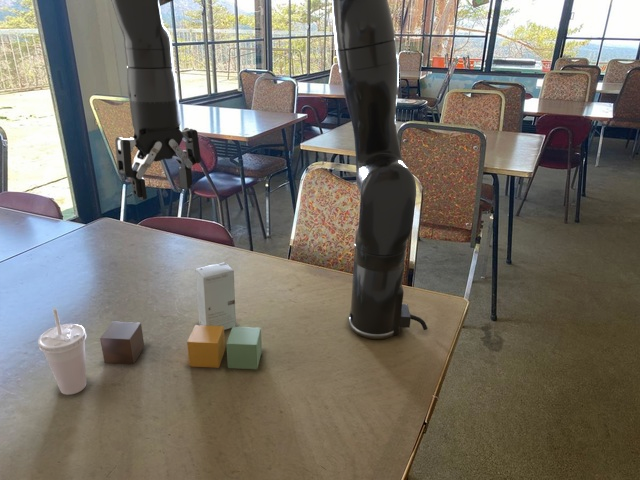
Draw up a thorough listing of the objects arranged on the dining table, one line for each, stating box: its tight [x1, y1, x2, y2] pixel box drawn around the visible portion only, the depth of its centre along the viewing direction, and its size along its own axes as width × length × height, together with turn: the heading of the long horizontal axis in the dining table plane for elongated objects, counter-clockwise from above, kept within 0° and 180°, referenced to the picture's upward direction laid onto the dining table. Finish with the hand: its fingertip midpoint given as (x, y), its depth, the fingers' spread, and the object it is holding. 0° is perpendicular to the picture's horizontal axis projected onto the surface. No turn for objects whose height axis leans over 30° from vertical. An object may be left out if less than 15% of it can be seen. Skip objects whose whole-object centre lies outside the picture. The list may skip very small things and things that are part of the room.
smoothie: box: [37, 307, 87, 396], centre depth 73 cm, size 6×6×14 cm
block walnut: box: [99, 321, 145, 365], centre depth 82 cm, size 5×5×5 cm
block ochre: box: [186, 324, 226, 369], centre depth 82 cm, size 5×5×5 cm
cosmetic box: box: [195, 262, 237, 331], centre depth 90 cm, size 6×4×12 cm
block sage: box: [225, 326, 263, 370], centre depth 82 cm, size 5×5×5 cm
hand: (164, 193), depth 83 cm, fingers open, 8 cm apart
